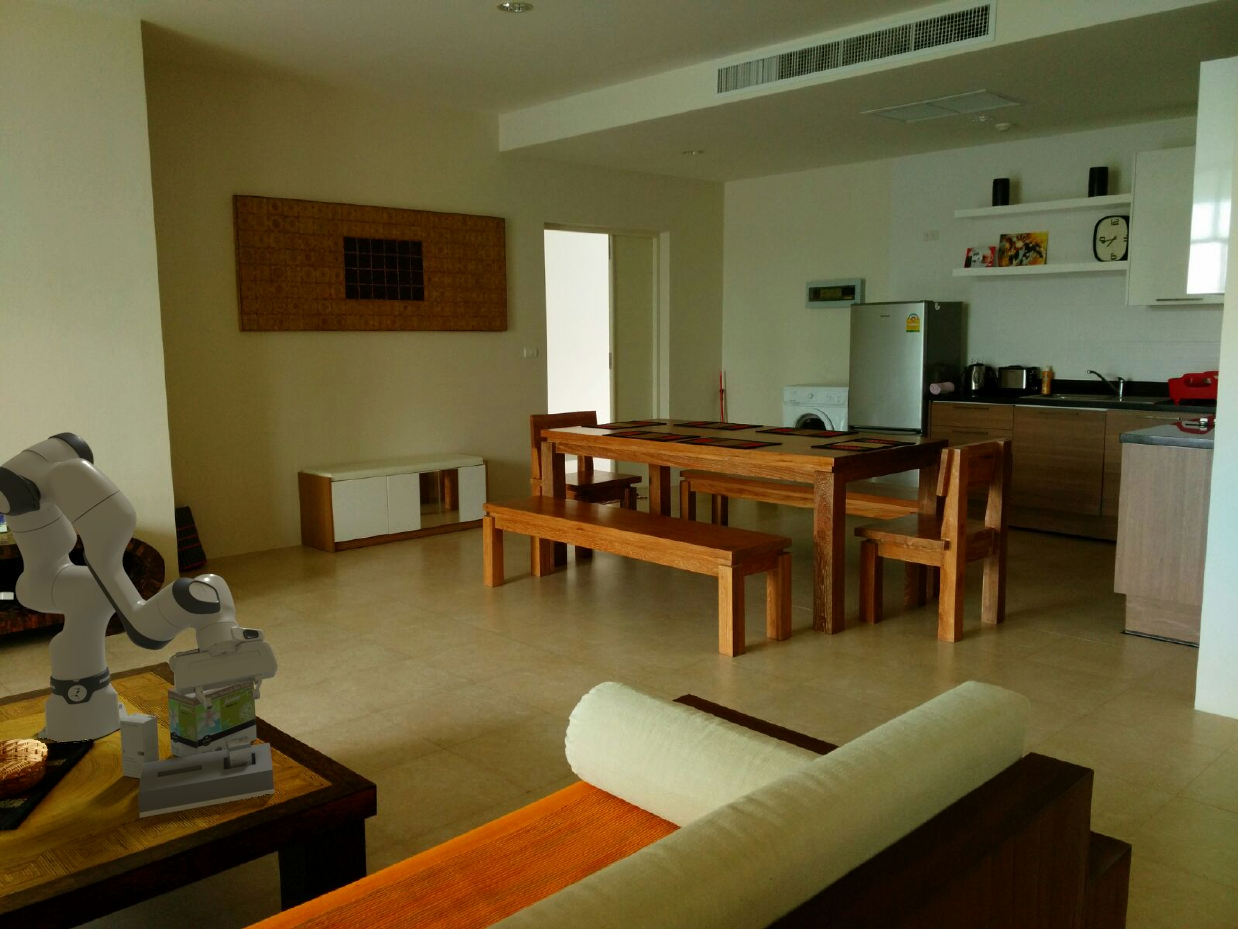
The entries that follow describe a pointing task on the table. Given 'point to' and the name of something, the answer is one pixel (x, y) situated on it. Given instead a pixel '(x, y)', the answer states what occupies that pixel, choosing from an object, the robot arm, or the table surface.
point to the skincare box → (138, 742)
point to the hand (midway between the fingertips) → (232, 703)
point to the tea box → (211, 719)
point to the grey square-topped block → (238, 752)
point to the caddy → (202, 781)
